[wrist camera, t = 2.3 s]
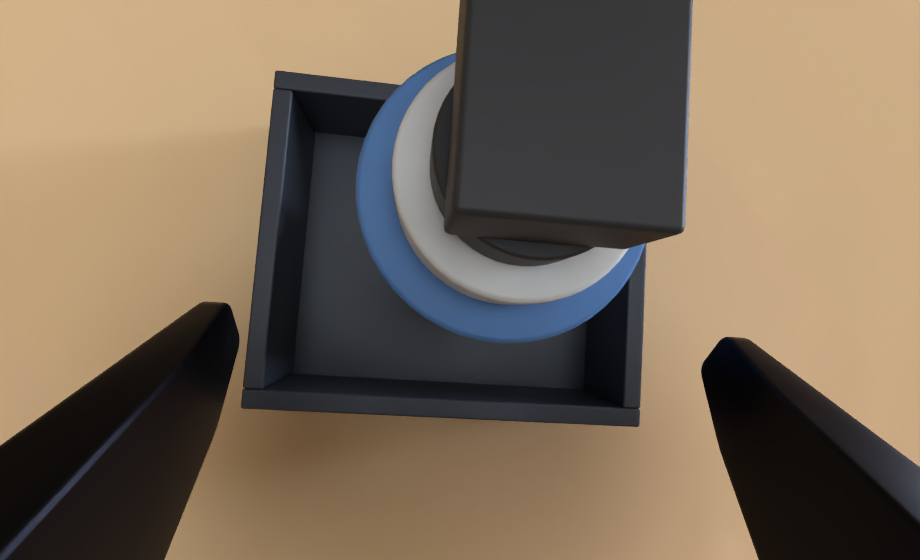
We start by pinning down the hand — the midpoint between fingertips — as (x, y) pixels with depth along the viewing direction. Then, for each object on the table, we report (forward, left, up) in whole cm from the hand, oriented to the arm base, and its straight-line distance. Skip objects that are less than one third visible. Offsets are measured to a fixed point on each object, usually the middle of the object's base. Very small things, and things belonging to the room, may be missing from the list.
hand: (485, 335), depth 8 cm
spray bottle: (+2, -1, -10) cm, 10 cm away
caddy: (+2, -1, -10) cm, 10 cm away
